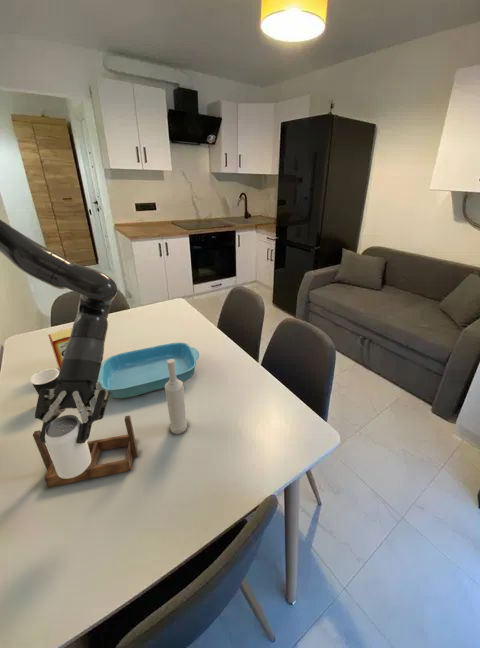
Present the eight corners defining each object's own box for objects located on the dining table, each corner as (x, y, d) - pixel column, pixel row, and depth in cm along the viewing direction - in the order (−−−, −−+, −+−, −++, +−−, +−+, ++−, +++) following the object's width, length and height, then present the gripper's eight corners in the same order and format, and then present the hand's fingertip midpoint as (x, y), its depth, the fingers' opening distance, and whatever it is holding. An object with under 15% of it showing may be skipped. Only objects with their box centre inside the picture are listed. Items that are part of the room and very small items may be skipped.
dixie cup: (71, 401, 99) (62, 375, 94) (43, 414, 93) (33, 387, 89) (63, 390, 103) (54, 365, 99) (36, 402, 98) (26, 376, 93)
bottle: (188, 420, 93) (181, 354, 82) (187, 433, 88) (179, 365, 78) (171, 422, 92) (162, 356, 82) (169, 435, 87) (159, 367, 77)
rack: (42, 488, 72) (24, 448, 66) (55, 456, 80) (41, 418, 74) (135, 469, 77) (127, 430, 71) (139, 441, 85) (132, 404, 79)
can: (71, 485, 59) (58, 443, 54) (49, 473, 61) (34, 432, 56) (98, 458, 65) (88, 418, 60) (77, 448, 67) (65, 409, 62)
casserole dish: (95, 411, 95) (91, 394, 92) (99, 372, 113) (95, 357, 110) (206, 382, 109) (205, 367, 106) (193, 352, 128) (192, 338, 125)
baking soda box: (85, 359, 120) (76, 325, 114) (90, 366, 116) (81, 332, 109) (58, 368, 114) (47, 333, 108) (62, 376, 110) (51, 340, 103)
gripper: (38, 356, 61) (13, 444, 55) (107, 358, 61) (89, 445, 55) (61, 362, 68) (40, 440, 62) (122, 363, 68) (107, 441, 62)
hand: (63, 442), depth 59 cm, fingers closed on can, 6 cm apart
